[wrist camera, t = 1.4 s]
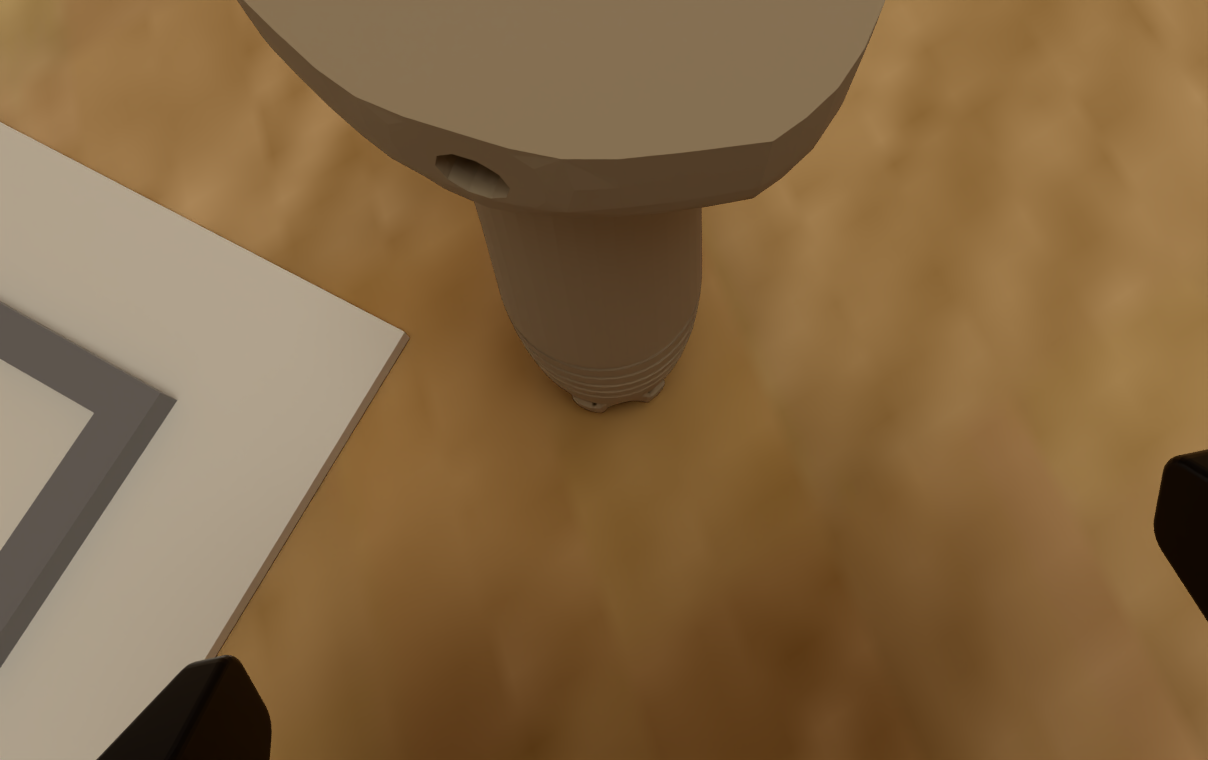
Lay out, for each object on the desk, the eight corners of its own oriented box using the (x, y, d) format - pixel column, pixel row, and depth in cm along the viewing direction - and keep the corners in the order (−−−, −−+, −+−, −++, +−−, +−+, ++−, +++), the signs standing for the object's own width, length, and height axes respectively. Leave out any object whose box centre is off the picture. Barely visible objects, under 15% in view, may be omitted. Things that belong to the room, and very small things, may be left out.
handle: (530, 239, 24) (346, -345, 9) (757, 311, 23) (951, -204, 8) (463, 402, 23) (137, 35, 8) (700, 484, 22) (807, 239, 7)
